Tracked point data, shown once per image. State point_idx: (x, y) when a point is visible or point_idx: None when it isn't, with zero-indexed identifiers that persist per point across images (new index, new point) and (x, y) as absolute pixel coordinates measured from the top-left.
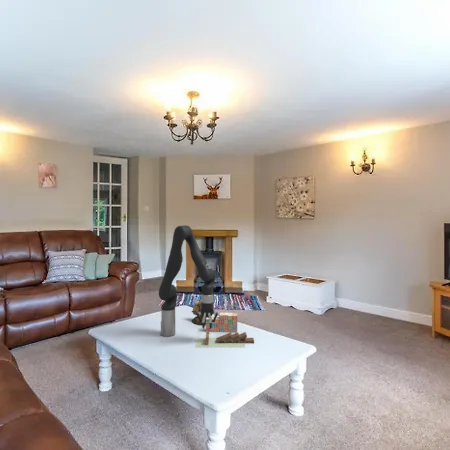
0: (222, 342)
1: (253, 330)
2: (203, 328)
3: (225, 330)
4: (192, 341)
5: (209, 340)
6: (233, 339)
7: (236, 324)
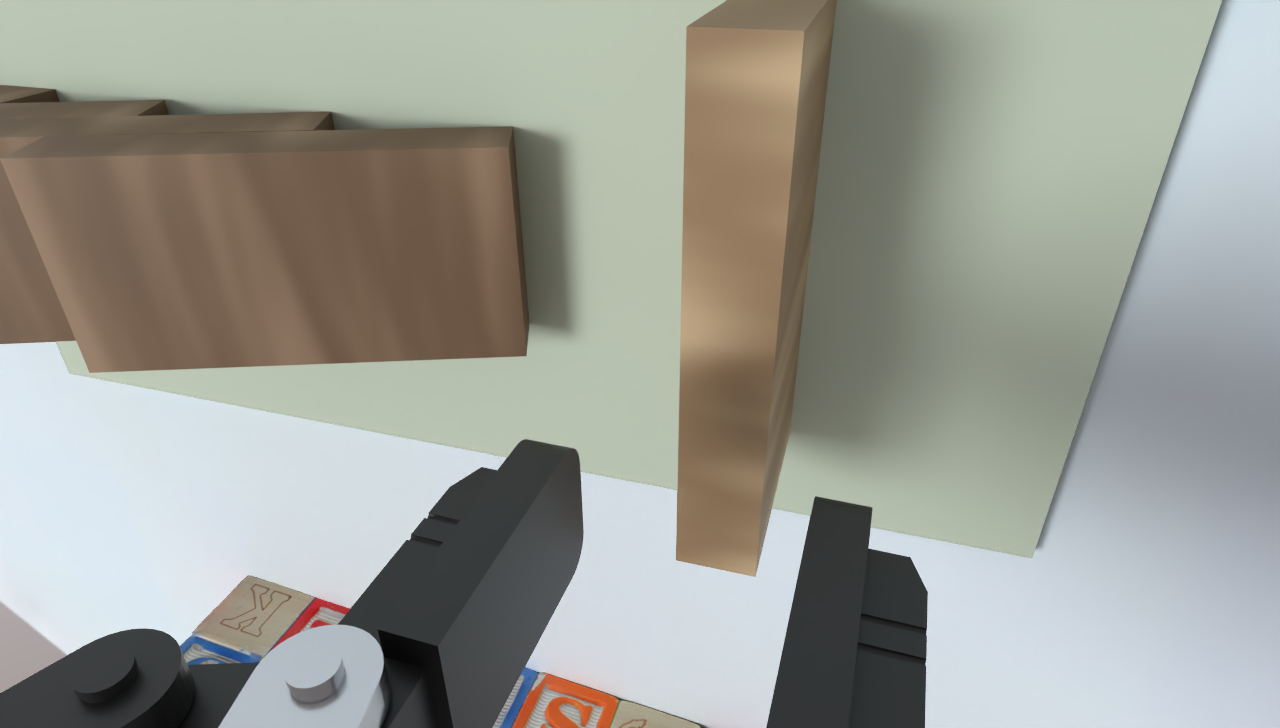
0: None
1: (64, 610)
2: (862, 508)
3: None
4: (1229, 386)
5: None
6: (56, 118)
7: None
